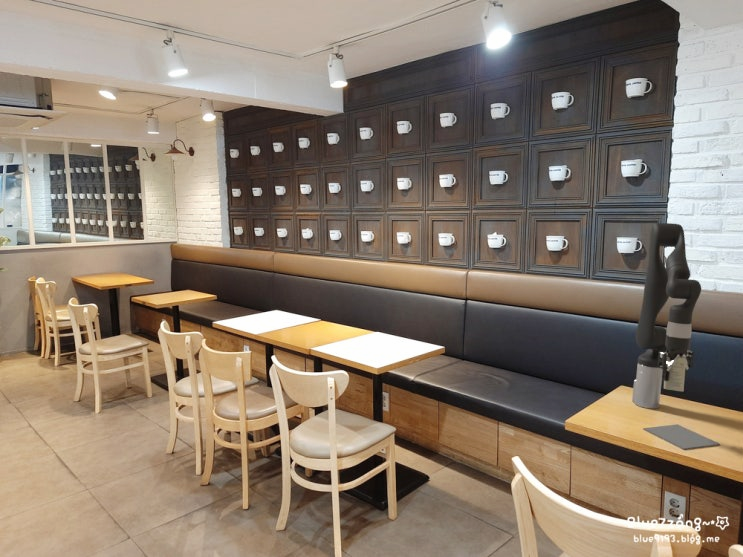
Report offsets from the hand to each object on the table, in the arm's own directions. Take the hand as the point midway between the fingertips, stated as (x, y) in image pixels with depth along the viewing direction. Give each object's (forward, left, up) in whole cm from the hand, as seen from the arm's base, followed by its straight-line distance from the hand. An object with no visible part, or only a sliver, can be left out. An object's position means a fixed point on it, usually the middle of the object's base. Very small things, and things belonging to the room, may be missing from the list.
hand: (673, 379), depth 183 cm
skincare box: (0, 0, -4) cm, 4 cm away
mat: (+5, 0, -19) cm, 20 cm away
